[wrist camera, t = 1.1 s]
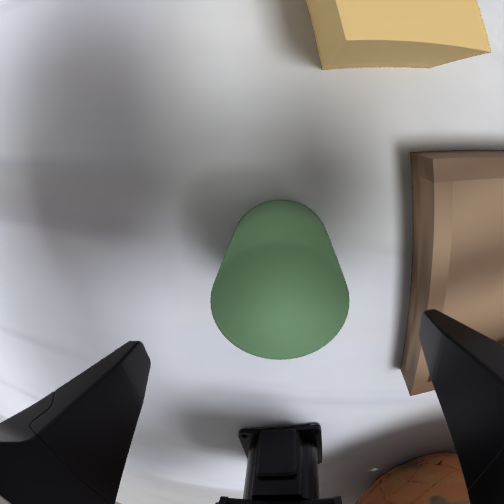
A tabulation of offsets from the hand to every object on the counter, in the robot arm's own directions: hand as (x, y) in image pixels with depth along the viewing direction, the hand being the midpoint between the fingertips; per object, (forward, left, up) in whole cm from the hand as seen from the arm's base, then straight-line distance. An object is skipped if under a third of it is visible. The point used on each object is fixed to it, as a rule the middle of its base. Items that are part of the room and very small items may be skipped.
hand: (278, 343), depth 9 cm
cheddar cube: (+11, -6, -7) cm, 15 cm away
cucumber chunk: (0, 0, -7) cm, 7 cm away
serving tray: (-3, -17, -7) cm, 19 cm away
